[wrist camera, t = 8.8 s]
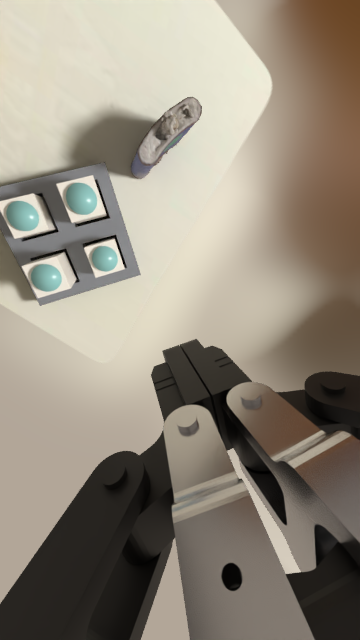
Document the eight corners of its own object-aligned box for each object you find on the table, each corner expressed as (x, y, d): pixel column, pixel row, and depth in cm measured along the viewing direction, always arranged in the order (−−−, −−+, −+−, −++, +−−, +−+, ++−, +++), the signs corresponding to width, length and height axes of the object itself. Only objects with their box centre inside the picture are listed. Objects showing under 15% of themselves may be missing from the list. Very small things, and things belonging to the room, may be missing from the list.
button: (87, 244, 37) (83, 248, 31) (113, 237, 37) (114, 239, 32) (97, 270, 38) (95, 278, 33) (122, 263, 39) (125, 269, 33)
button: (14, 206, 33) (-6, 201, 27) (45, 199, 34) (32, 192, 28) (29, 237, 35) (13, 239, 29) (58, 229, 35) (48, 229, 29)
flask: (139, 183, 36) (150, 166, 26) (124, 165, 35) (130, 140, 25) (184, 137, 36) (213, 103, 26) (171, 117, 34) (196, 73, 25)
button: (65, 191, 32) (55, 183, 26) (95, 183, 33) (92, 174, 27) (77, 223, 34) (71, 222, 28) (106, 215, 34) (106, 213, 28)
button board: (-9, 194, 32) (-19, 191, 29) (105, 167, 34) (104, 162, 32) (44, 300, 38) (40, 305, 35) (138, 271, 40) (140, 274, 38)
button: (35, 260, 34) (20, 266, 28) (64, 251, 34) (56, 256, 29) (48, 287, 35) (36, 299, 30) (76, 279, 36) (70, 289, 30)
